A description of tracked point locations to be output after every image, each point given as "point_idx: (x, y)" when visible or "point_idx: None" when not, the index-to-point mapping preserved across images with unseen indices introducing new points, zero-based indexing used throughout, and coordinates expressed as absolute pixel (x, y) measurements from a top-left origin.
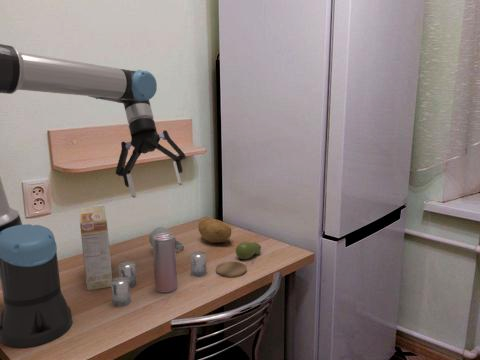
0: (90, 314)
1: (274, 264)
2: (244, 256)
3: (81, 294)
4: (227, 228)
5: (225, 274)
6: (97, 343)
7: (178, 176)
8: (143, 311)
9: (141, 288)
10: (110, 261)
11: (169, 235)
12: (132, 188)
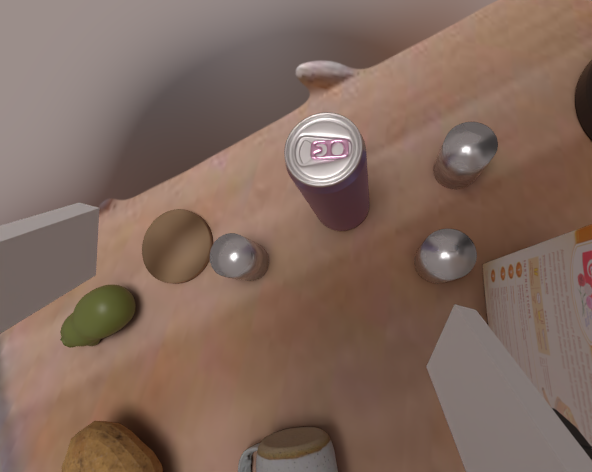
0: (532, 132)
1: None
2: (123, 287)
3: None
4: (79, 436)
5: (199, 217)
6: (505, 23)
7: (41, 216)
8: (406, 116)
9: (402, 226)
10: (509, 264)
11: (298, 164)
12: (475, 351)
